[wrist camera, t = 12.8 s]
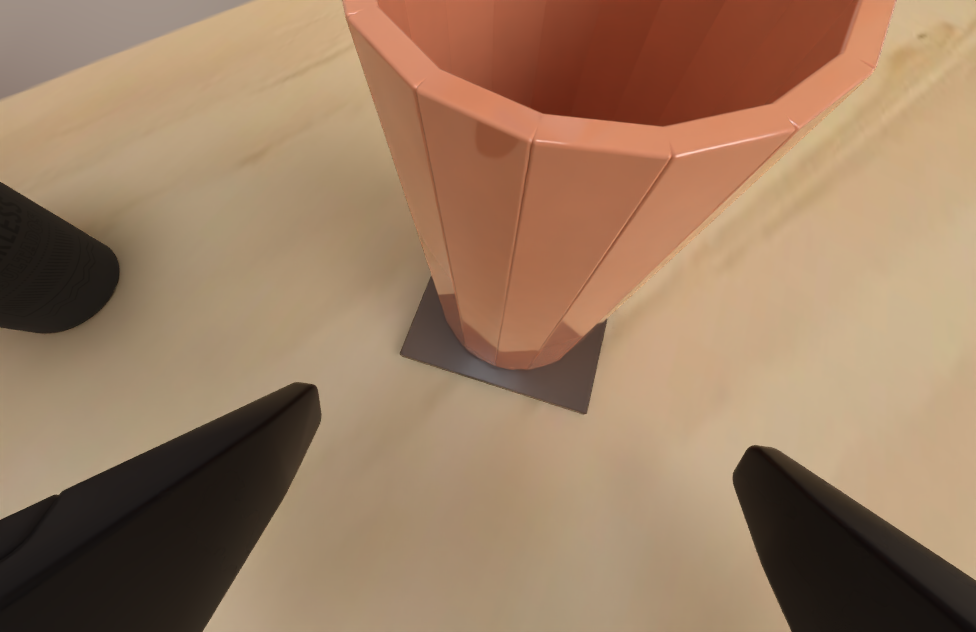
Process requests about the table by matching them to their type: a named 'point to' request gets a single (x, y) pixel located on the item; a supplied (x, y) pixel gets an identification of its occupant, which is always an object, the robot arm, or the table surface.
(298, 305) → the table surface
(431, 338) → the walnut coaster
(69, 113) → the table surface
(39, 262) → the drinking cup
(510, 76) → the peach cup
